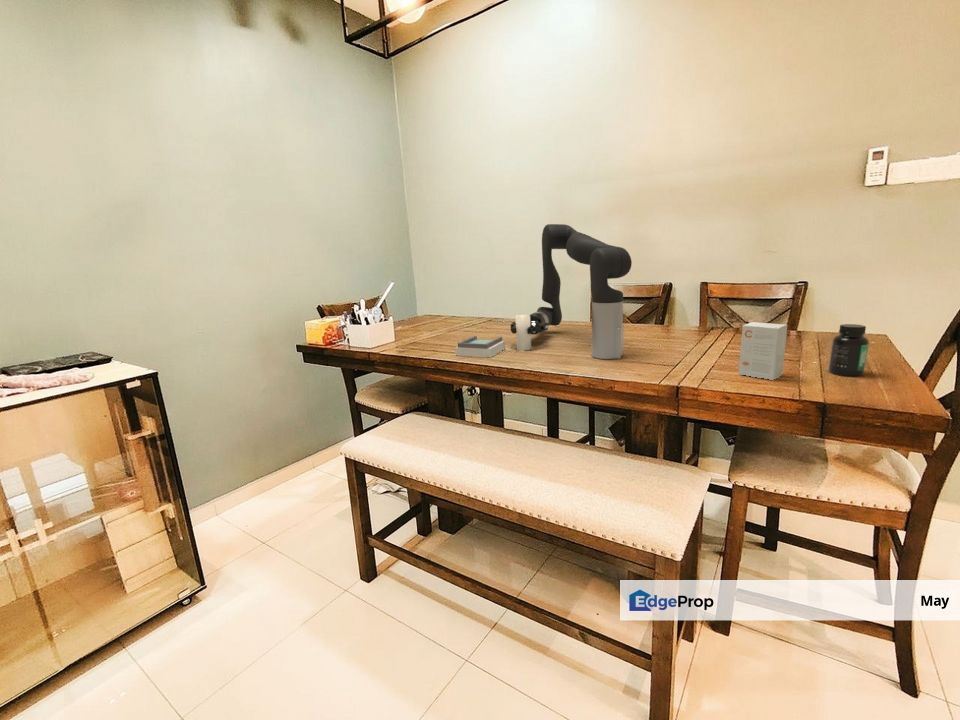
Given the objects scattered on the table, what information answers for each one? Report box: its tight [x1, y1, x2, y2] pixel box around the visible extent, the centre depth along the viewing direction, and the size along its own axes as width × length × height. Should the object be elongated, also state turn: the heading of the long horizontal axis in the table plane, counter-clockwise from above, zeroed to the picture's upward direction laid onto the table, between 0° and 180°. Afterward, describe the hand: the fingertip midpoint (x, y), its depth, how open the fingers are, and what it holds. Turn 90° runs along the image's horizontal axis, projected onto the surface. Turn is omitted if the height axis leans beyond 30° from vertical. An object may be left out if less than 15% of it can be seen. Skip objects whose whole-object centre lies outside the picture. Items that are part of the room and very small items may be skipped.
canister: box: [515, 313, 532, 351], centre depth 153 cm, size 5×5×12 cm
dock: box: [454, 335, 506, 359], centre depth 153 cm, size 13×13×4 cm
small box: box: [738, 321, 788, 381], centre depth 110 cm, size 8×6×13 cm
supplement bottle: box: [828, 323, 870, 378], centre depth 108 cm, size 7×7×12 cm
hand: (520, 330), depth 151 cm, fingers closed on canister, 5 cm apart
